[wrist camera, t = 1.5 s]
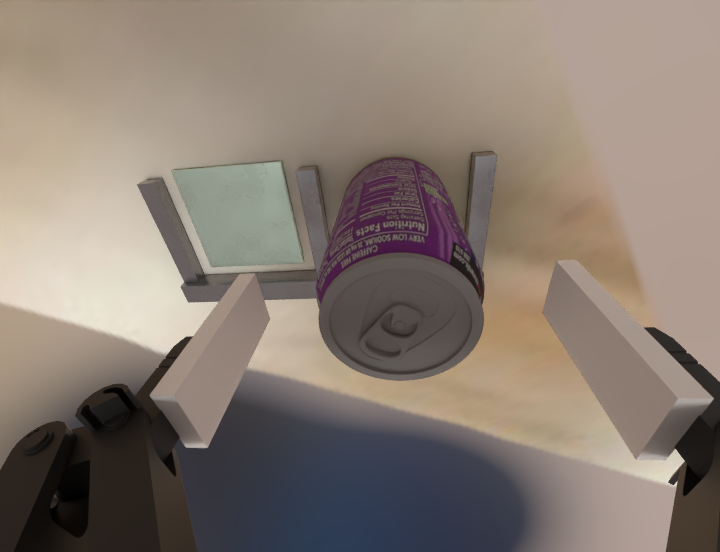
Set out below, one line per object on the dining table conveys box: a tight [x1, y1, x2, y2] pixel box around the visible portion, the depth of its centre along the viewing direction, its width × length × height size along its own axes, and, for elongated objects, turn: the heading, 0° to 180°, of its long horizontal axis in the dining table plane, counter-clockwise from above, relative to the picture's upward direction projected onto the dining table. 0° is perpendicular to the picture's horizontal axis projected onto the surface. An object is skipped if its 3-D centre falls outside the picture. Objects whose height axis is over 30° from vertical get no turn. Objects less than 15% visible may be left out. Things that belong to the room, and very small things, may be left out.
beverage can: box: [316, 158, 484, 381], centre depth 17 cm, size 7×7×12 cm
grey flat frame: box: [137, 151, 497, 302], centre depth 23 cm, size 10×23×2 cm, turn 96°
